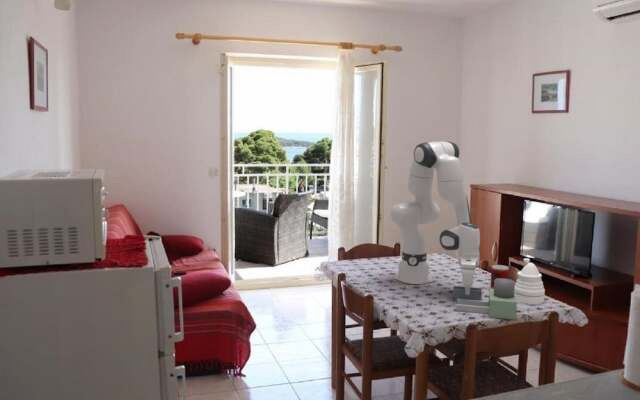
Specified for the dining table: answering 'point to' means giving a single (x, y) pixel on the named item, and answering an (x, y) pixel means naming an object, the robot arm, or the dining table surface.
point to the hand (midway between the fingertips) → (467, 291)
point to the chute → (474, 295)
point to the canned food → (498, 273)
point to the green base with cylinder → (494, 301)
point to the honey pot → (529, 285)
